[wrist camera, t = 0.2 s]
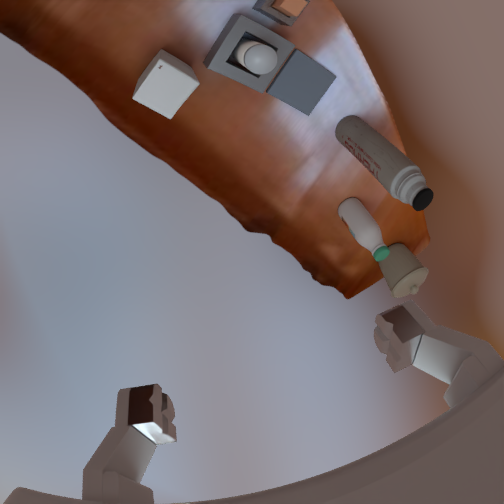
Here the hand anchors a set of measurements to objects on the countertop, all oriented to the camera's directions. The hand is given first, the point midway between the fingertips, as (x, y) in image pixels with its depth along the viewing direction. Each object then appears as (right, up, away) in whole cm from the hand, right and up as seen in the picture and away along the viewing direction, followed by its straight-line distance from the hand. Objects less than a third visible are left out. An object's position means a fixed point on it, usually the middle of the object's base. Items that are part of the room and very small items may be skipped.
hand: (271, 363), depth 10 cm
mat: (+9, +38, +41) cm, 57 cm away
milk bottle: (+28, +17, +73) cm, 80 cm away
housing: (-2, +41, +34) cm, 53 cm away
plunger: (+4, +46, +26) cm, 53 cm away
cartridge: (-2, +41, +34) cm, 53 cm away
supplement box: (-16, +36, +34) cm, 52 cm away
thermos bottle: (+23, +33, +53) cm, 67 cm away
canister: (+56, +4, +100) cm, 115 cm away
